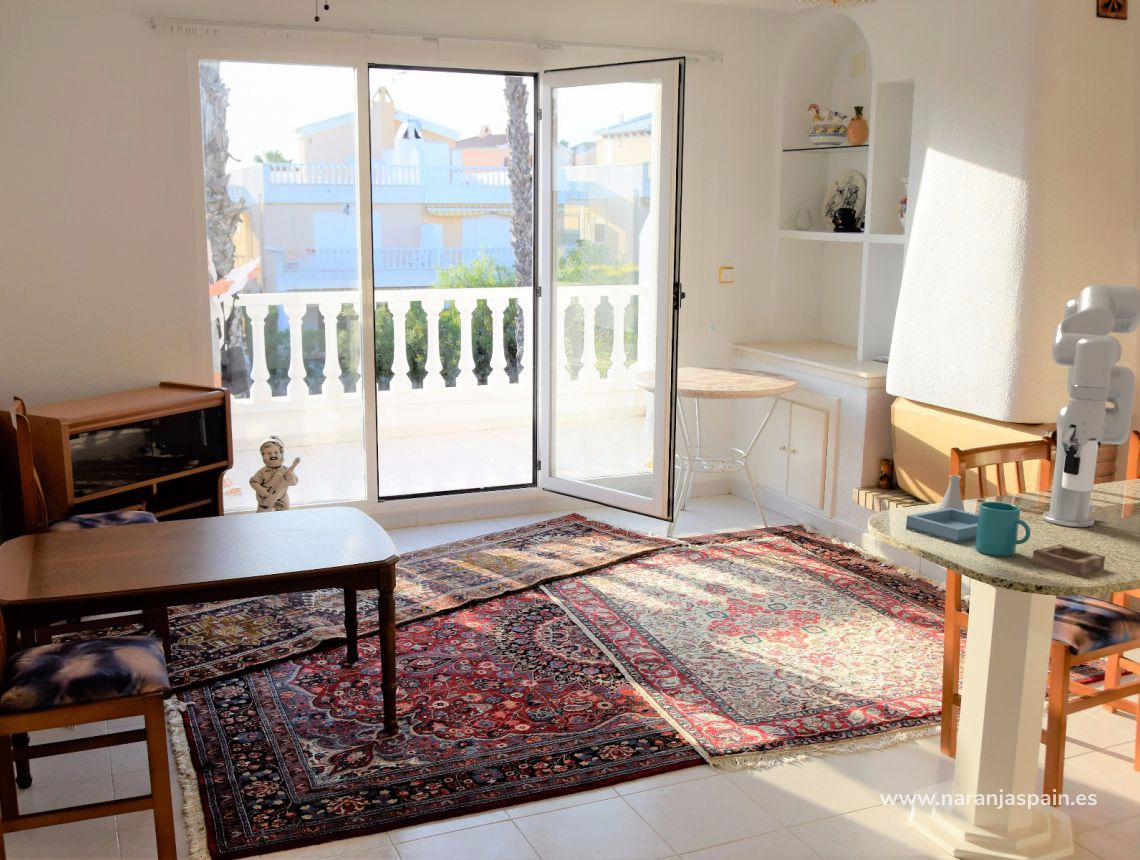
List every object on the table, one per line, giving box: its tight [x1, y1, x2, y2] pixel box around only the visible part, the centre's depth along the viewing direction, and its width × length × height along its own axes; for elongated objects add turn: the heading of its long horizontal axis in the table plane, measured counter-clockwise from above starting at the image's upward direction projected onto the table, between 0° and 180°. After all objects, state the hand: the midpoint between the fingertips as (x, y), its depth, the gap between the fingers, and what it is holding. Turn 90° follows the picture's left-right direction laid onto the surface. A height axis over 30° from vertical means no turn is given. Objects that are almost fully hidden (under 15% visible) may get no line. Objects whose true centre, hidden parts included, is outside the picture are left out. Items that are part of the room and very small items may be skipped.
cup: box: [974, 501, 1031, 558], centre depth 255 cm, size 9×12×11 cm
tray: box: [905, 508, 979, 544], centre depth 273 cm, size 18×15×4 cm
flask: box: [937, 474, 966, 512], centre depth 293 cm, size 7×7×10 cm
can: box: [1062, 439, 1099, 493], centre depth 243 cm, size 6×6×12 cm
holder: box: [1031, 543, 1106, 577], centre depth 247 cm, size 11×11×3 cm
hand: (1079, 471), depth 243 cm, fingers closed on can, 6 cm apart
